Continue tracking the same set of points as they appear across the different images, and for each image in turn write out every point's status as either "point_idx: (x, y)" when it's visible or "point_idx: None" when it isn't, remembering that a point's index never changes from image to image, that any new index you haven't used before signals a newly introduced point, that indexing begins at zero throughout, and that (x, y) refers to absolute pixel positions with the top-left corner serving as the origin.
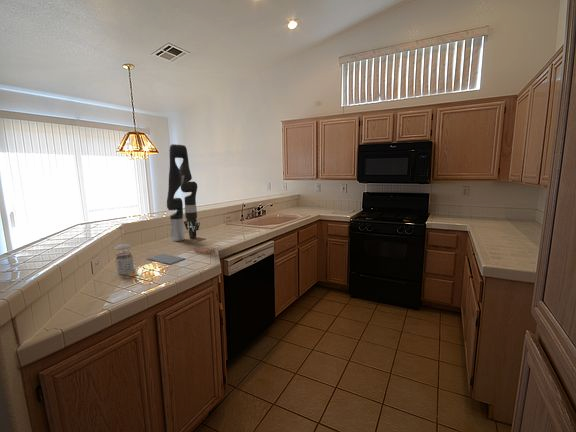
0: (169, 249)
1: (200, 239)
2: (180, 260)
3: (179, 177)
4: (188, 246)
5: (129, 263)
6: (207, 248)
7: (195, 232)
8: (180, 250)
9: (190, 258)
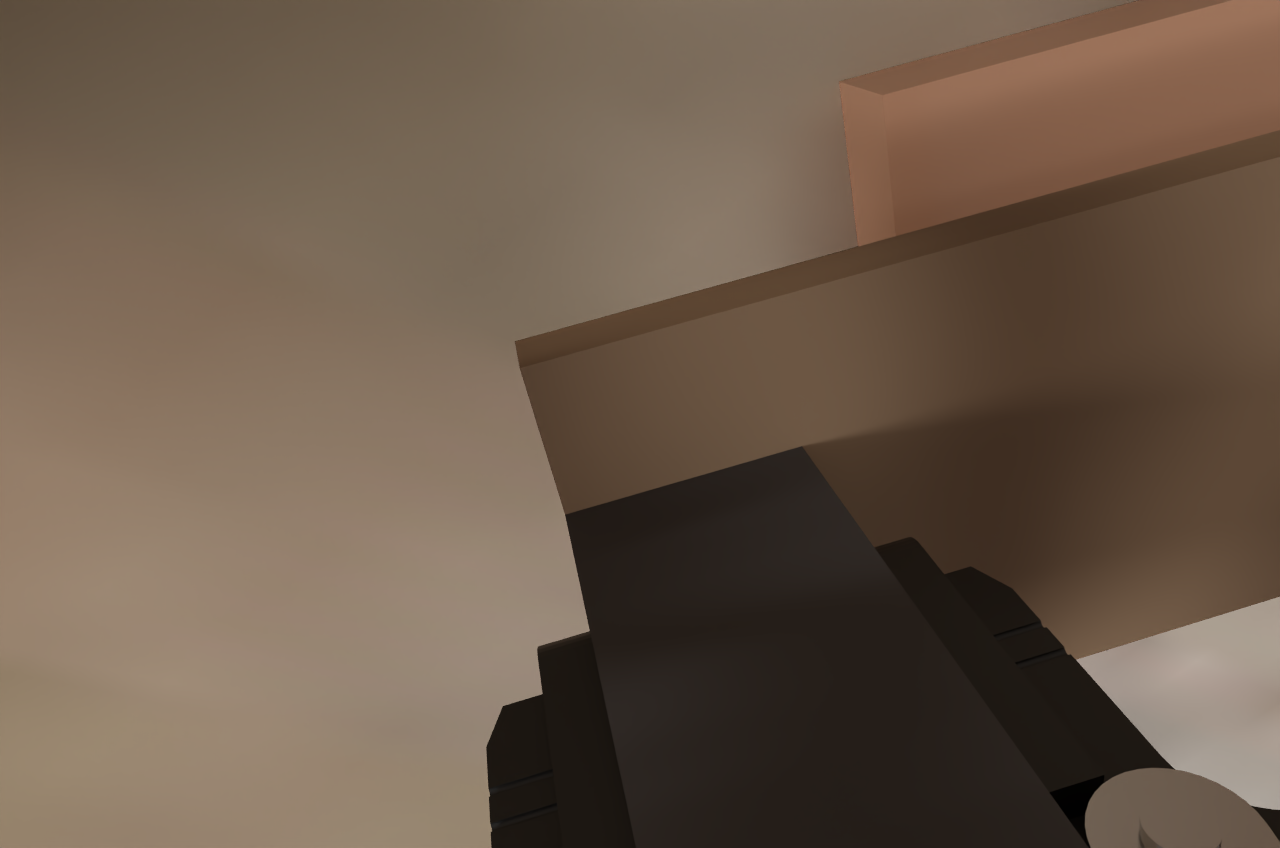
0: (26, 813)
1: (1236, 432)
2: None
3: None
4: (22, 293)
5: None
6: None
7: (1098, 753)
8: (381, 642)
9: (1180, 677)
